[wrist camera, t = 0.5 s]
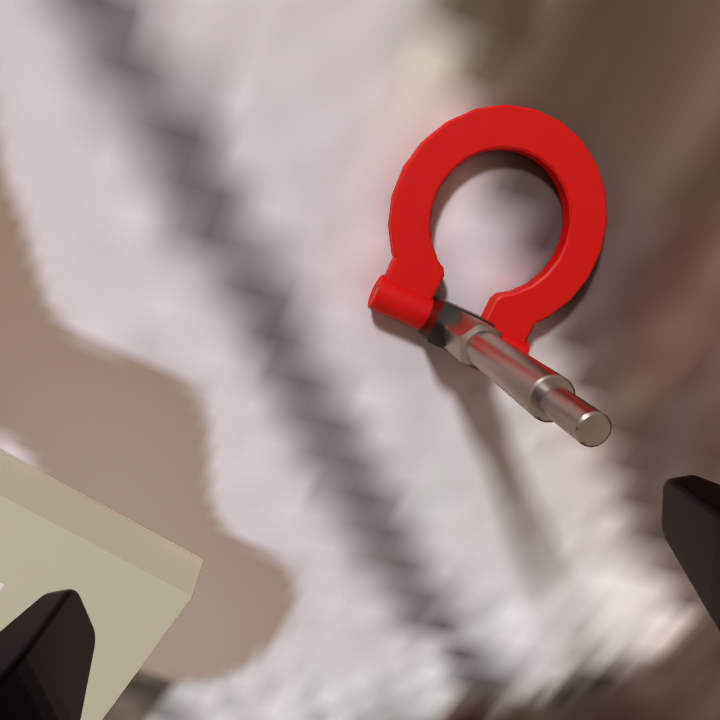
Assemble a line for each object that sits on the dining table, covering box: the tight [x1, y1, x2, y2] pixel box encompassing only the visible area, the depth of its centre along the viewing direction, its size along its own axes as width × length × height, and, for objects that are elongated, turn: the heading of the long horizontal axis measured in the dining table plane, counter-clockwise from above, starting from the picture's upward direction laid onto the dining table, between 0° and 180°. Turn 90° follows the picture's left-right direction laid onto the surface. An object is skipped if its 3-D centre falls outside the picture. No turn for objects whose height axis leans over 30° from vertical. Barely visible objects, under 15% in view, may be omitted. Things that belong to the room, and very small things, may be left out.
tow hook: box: [368, 105, 612, 447], centre depth 18 cm, size 8×13×9 cm
